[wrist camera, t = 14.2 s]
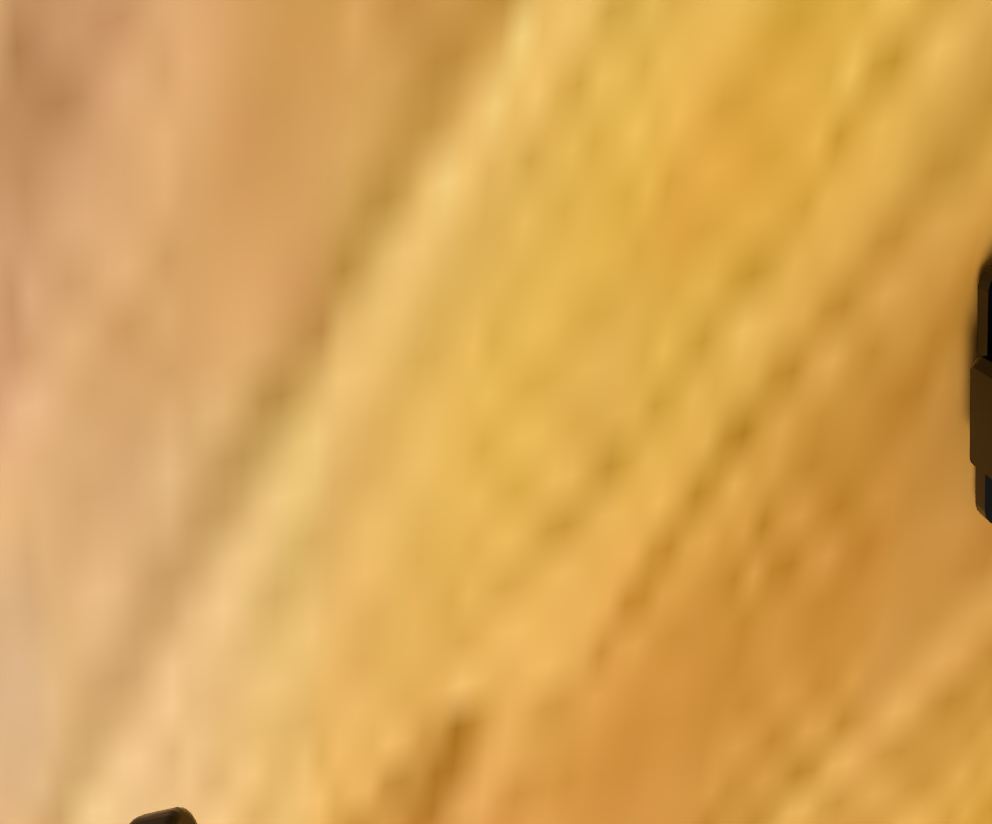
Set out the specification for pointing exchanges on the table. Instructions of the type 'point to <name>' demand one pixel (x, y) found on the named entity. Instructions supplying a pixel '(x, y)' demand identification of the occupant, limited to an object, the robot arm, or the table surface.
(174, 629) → the table surface
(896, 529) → the table surface
